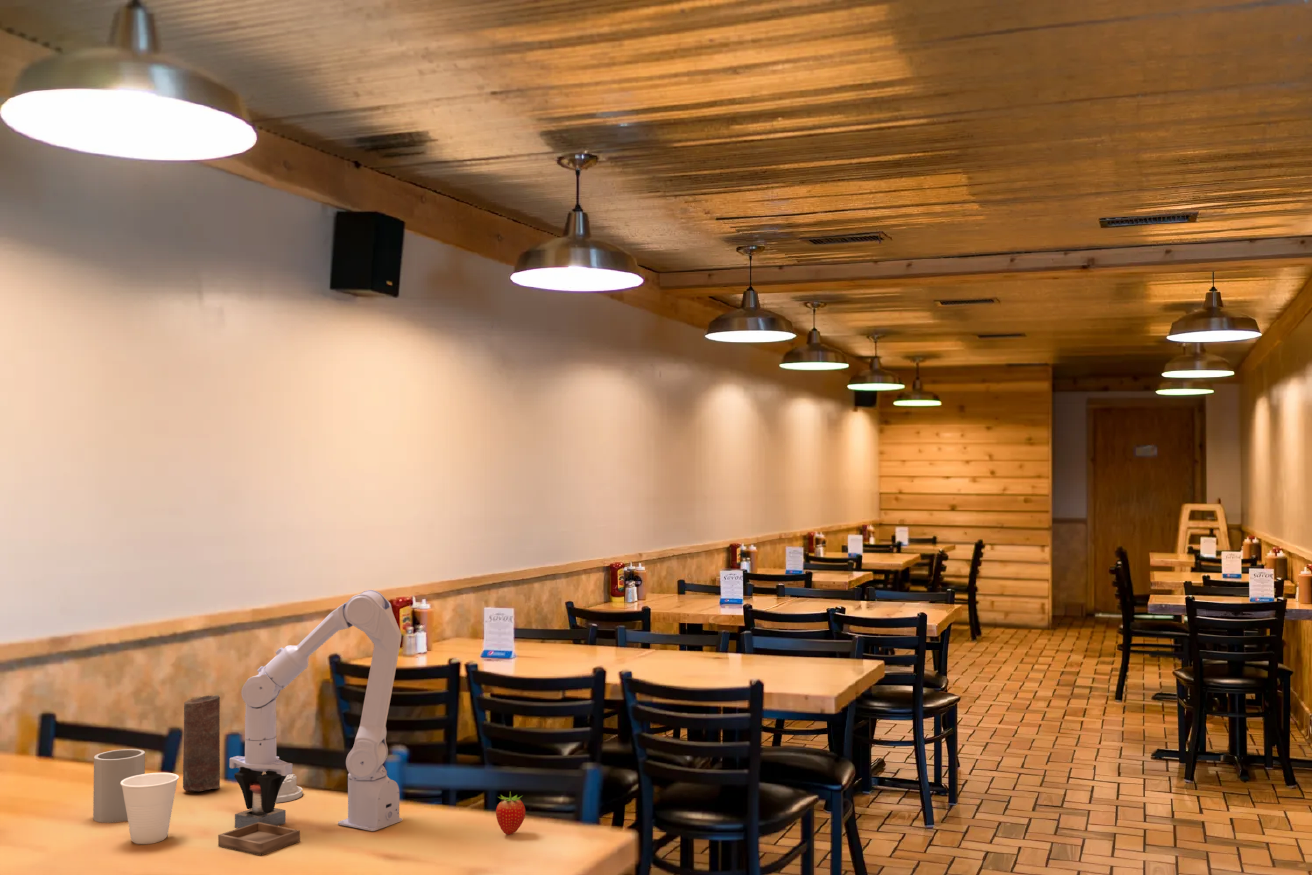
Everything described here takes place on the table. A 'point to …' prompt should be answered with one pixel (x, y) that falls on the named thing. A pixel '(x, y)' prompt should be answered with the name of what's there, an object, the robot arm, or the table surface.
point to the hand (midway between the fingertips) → (260, 809)
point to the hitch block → (260, 818)
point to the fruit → (510, 814)
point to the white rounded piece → (289, 789)
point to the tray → (259, 838)
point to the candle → (201, 743)
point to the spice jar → (256, 799)
